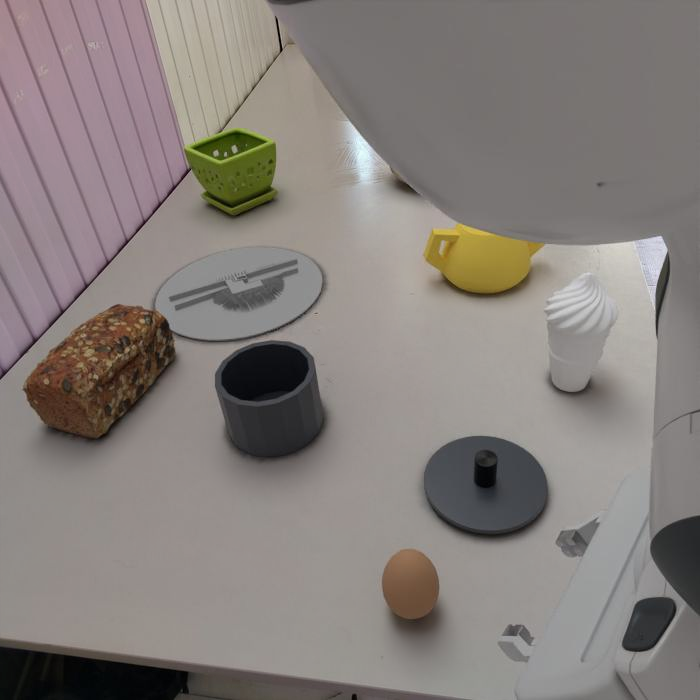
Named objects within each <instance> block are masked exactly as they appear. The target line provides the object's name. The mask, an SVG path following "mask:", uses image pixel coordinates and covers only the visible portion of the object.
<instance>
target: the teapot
mask: <svg viewBox="0 0 700 700" xmlns="http://www.w3.org/2000/svg"><path fill="white" fill-rule="evenodd" d="M442 241H445V242H444V244H443V246H442V250H441V252H440V249H441V245H442ZM545 245H546V244H542V243H533V242H527V241H522V240H517V239H512V238H507V237H502V236H498V235H495V234H491V233H488V232H484V231H481V230H478V229H474V228H471V227H468V226H465V225H462V224H460V223H458V222H456V224H455V226H454V227H453V228H452V229H450V228H449V229H448V228H431V231H430V234H429V237H428V240H427V243H426V246H425V248H424V251H423V254H422V256H423V258H424V260H425V261H424V262H426V263H428V264H429V265H430V266H433V267H434V268H435V269H437V270H438V271H440V272H441V273H442V274H443V275H444V277H445V278H446V279H447V280H448V281H449V282H450V283H452V284H453V285H454V286H455V287H457V288H459V289H461V290H463V291H466V292H470V293H473V294H482V295H483V294H486V295H487V294H497V293H501V292H505V291H507V290H510V289H512V288H513V287H515V286H516V285H518V284H519V283H521V281H523V280H524V279H525V278H526V277H527V275H528V274H529V272H530V269H531V265H532V264H531V263H532V257H533V256H534V255H535V254H537V252H539V251H540V250H541V249H542V248H543V247H544V246H545Z"/></svg>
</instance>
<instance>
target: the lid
mask: <svg viewBox="0 0 700 700" xmlns="http://www.w3.org/2000/svg"><path fill="white" fill-rule="evenodd" d="M423 488H424V492H425V495H426V498H427V500H428V502H429V503H430V506H431V507H432V508H433V509H434V511H435V512H436V513H437V514H438V515H439V516H440V517H442V518H443V519H444V520H445V521H447V522H448V523H450V524H452V525H454V526H455V527H457V528H460V529H462V530H465V531H467V532H472V533H478V534H482V535H483V534H485V535H497V534H506V533H509V532H513V531H516V530H519V529H522V528H524V527H525V526H527V525H528V524H529V523H531V522H532V521H533V520H535V519H536V517H538V516H539V515H540V513H541V512H542V510H543V509H544V506H545V504H546V501H547V497H548V489H549V488H548V479H547V475H546V473H545V471H544V468H543V466H542V465H541V464H540V462H539V461H538V460H537V459H536V457H535V456H534V455H533V454H532V453H530V452H529V451H528V450H526V449H525V448H524V447H522V446H521V445H519V444H517V443H515V442H512V441H510V440H507V439H504V438H501V437H497V436H490V435H471V436H465V437H460V438H457V439H454V440H451V441H450V442H447V443H445V444H444V445H442V446H441V447H440V448H438V450H436V451H434V453H433V454H432V456H431V457H430V458H429V460H428V462H427V464H426V466H425V470H424V475H423Z"/></svg>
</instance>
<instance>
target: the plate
mask: <svg viewBox="0 0 700 700" xmlns="http://www.w3.org/2000/svg"><path fill="white" fill-rule="evenodd" d="M323 281H324V280H323V275H322V271H321V269H320V268H319V266H318V265H317V264H316V263H315V262H314V261H313V260H312V259H310V258H309V257H307V256H306V255H304V254H302V253H299V252H296V251H293V250H290V249H286V248H279V247H271V246H270V247H269V246H252V247H251V246H249V247H240V248H233V249H229V250H225V251H220V252H217V253H214V254H211V255H208V256H205V257H203V258H201V259H198V260H196V261H194V262H192V263H190V264H188V265H186V266H185V267H183V268H181V269H180V270H179V271H178V272H176V273H175V274H173V275H172V276H171V277H170V278H169V279H168V280H167V281H166V282H165V283H164V284H163V285H162V287H161V288H160V289H159V291H158V293H157V295H156V299H155V302H154V308H155V309H154V310H156V311H158V312H159V313H161V314H162V315H163V316H164V317H165V318H166V319H167V321H168V323H169V325H170V326H169V328H170V330H171V331H172V333H174V334H176V335H179V336H182V337H184V338H188V339H193V340H197V341H205V342H228V341H239V340H244V339H249V338H254V337H258V336H261V335H264V334H268V333H270V332H274V331H275V330H278V329H280V328H282V327H284V326H286V325H288V324H290V323H292V322H293V321H295V320H297V319H298V318H299V317H301V316H302V315H304V313H306V312H307V311H309V309H310V308H311V307H312V306H313V305H314V304H315V303H316V301H317V300H318V298H319V296H320V294H321V292H322V289H323V285H324V284H323V283H324V282H323Z"/></svg>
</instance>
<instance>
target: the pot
mask: <svg viewBox="0 0 700 700" xmlns="http://www.w3.org/2000/svg"><path fill="white" fill-rule="evenodd" d="M214 389H215V392H216V395H217V399H218V402H219V404H220V408H221V412H222V416H223V419H224V422H225V426H226V429H227V432H228V435H229V436H230V439H231V441H232V442H233V444H234V445H235V446H236V447H237V448H238V449H239V450H241V451H242V452H244V453H246V454H249V455H251V456H255V457H261V458H274V457H282V456H286V455H289V454H292V453H294V452H296V451H299V450H301V449H302V448H304V447H306V446H307V445H308V444H309V443H310V442H312V441H313V440H314V439H315V438H316V436H318V434H319V432H320V431H321V428H322V425H323V422H324V413H323V411H324V410H323V406H322V400H321V394H320V387H319V381H318V374H317V368H316V363H315V358H314V356H313V355H312V354H311V352H310V351H308V349H306V347H304V346H302V345H300V344H297V343H295V342H292V341H287V340H278V339H277V340H275V339H270V340H264V341H259V342H252V343H249V344H248V345H245V346H243V347H241V348H238V349H236V350H234V351H233V352H232V353H231V354H229V355H228V356H226V357H225V358H224V359H223V360H222V361H221V362H220V365H219V366H218V367H217V369H216V371H215V372H214Z"/></svg>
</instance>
